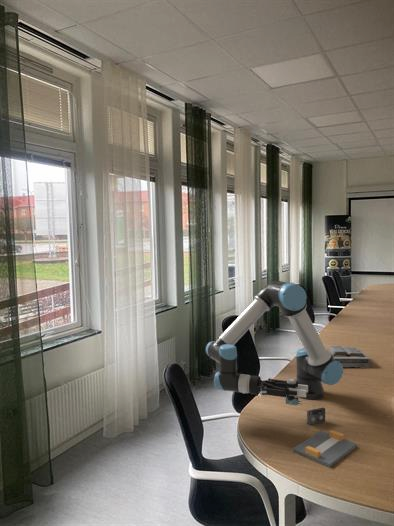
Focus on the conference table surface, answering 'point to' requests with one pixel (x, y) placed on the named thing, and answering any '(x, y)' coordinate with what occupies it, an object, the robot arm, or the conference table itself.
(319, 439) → the mounting panel
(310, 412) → the mini dv tape
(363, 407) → the conference table surface
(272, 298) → the robot arm
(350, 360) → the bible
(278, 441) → the conference table surface
